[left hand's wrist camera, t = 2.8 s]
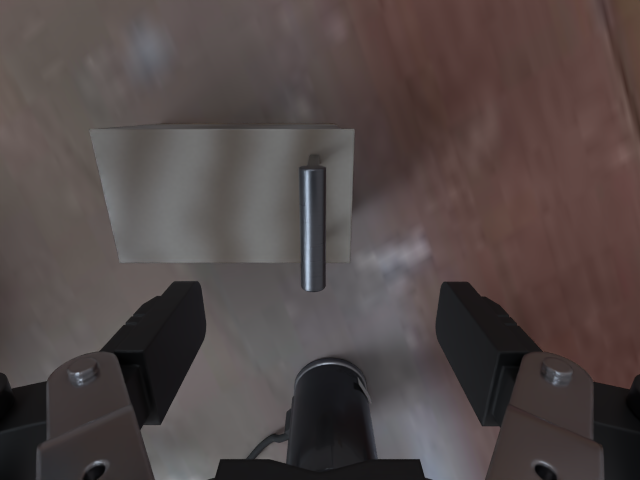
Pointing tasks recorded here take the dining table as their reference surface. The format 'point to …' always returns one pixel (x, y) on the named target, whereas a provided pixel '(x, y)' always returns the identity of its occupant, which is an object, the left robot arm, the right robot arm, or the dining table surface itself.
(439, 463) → the dining table surface
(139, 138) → the panel with bar handle
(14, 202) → the dining table surface
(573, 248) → the dining table surface
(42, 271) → the dining table surface
